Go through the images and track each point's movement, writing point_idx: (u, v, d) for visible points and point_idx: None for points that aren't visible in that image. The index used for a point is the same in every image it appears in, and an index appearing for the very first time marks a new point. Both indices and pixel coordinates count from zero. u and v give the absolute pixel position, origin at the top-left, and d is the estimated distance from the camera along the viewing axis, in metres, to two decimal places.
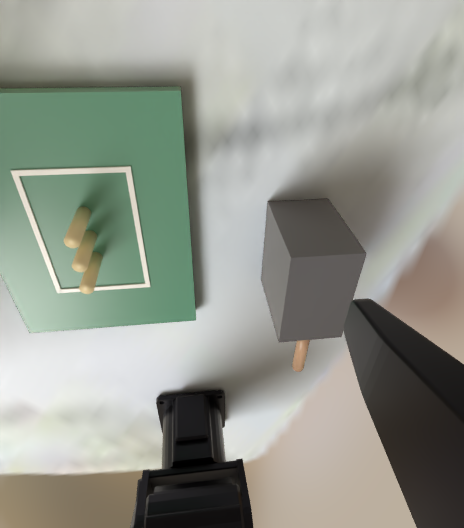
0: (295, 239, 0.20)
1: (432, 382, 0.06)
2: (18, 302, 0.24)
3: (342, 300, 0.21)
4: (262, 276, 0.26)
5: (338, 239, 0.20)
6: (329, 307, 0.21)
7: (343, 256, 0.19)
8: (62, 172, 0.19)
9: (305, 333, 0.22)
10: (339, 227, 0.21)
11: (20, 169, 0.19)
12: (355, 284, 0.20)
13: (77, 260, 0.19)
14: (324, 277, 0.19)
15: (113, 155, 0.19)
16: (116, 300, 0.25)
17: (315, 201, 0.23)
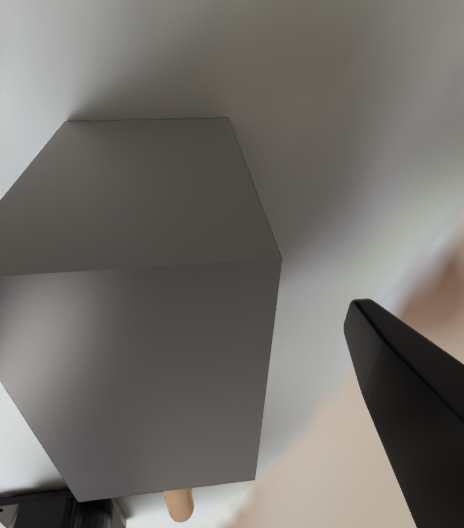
0: (39, 208, 0.05)
1: (432, 382, 0.06)
2: None
3: (232, 407, 0.06)
4: None
5: (199, 208, 0.06)
6: (194, 426, 0.07)
7: (186, 272, 0.04)
8: None
9: (147, 481, 0.08)
10: (219, 175, 0.06)
11: None
12: (263, 365, 0.06)
13: None
14: (136, 348, 0.05)
15: None
16: None
17: (191, 121, 0.09)
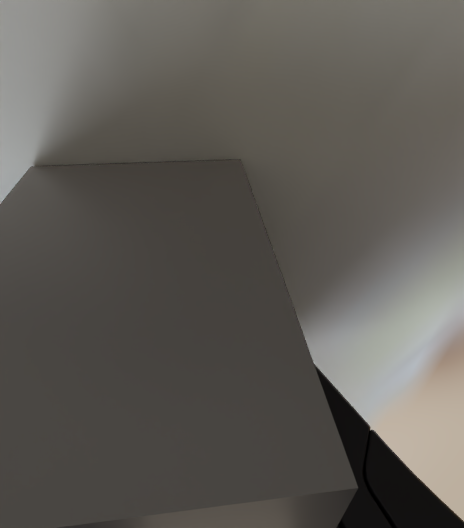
0: None
1: None
2: None
3: None
4: None
5: (207, 340, 0.04)
6: None
7: (188, 511, 0.03)
8: None
9: None
10: (235, 268, 0.04)
11: None
12: None
13: None
14: None
15: None
16: None
17: (193, 166, 0.07)
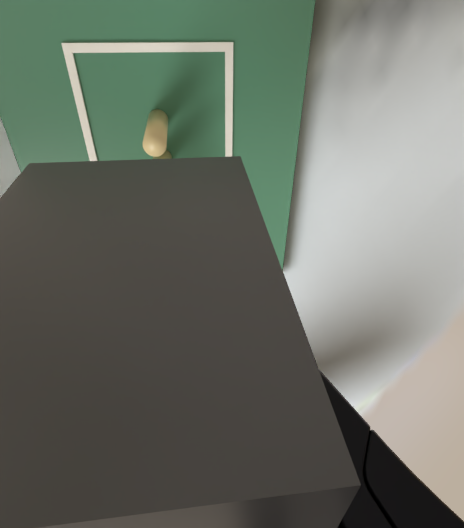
0: None
1: None
2: None
3: None
4: None
5: (207, 336, 0.04)
6: None
7: (187, 509, 0.02)
8: (134, 49, 0.13)
9: None
10: (235, 264, 0.04)
11: (75, 43, 0.13)
12: None
13: None
14: None
15: (211, 22, 0.13)
16: None
17: (193, 163, 0.07)
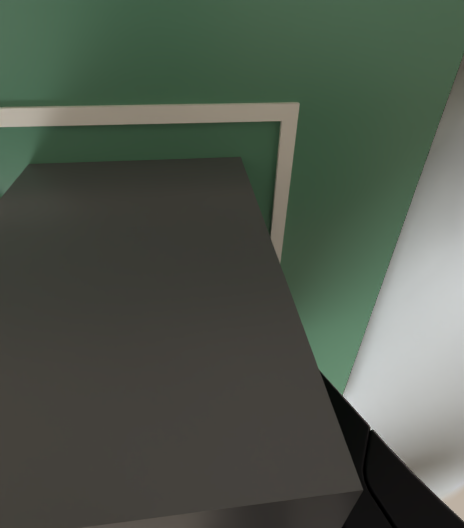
0: None
1: None
2: None
3: None
4: None
5: (208, 338, 0.04)
6: None
7: (188, 514, 0.02)
8: (99, 119, 0.06)
9: None
10: (236, 266, 0.04)
11: None
12: None
13: None
14: None
15: (258, 65, 0.06)
16: None
17: (193, 164, 0.07)
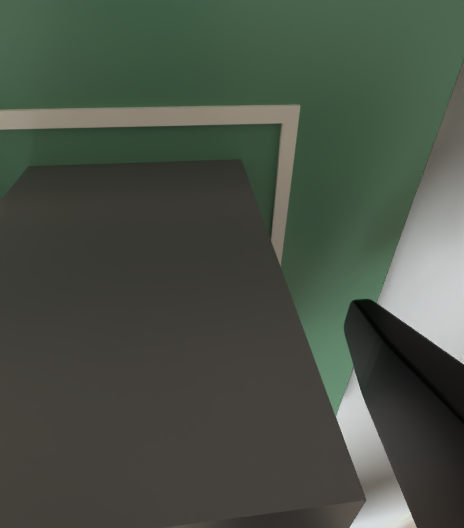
0: None
1: (432, 382, 0.06)
2: None
3: None
4: None
5: (209, 344, 0.04)
6: None
7: (189, 525, 0.02)
8: (99, 121, 0.06)
9: None
10: (236, 270, 0.04)
11: None
12: None
13: None
14: None
15: (258, 67, 0.06)
16: None
17: (193, 166, 0.07)
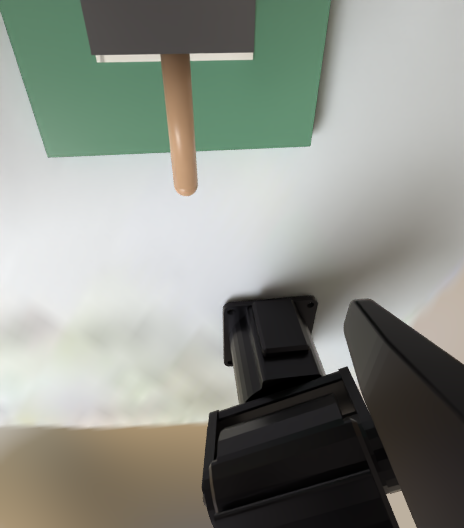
0: None
1: (432, 382, 0.06)
2: (30, 82, 0.14)
3: None
4: None
5: None
6: None
7: None
8: None
9: (155, 24, 0.09)
10: None
11: None
12: None
13: None
14: None
15: None
16: (192, 89, 0.15)
17: None
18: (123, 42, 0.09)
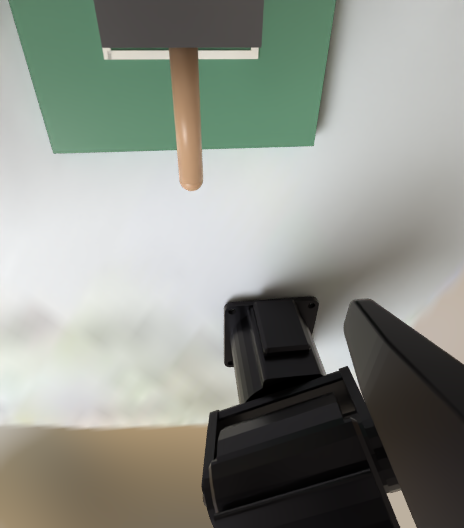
0: None
1: (432, 382, 0.06)
2: (38, 78, 0.14)
3: None
4: None
5: None
6: None
7: None
8: None
9: (165, 18, 0.09)
10: None
11: None
12: None
13: None
14: None
15: None
16: None
17: None
18: (133, 35, 0.09)
